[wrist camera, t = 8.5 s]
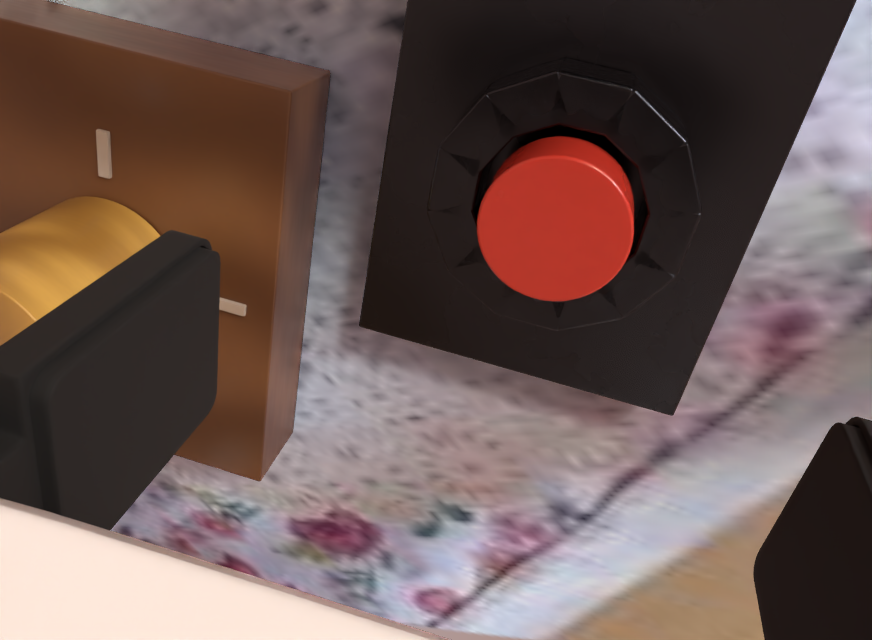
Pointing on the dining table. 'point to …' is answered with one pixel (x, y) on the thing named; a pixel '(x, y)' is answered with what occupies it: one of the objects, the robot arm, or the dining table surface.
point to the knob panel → (180, 182)
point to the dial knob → (63, 256)
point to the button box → (615, 133)
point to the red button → (557, 219)
